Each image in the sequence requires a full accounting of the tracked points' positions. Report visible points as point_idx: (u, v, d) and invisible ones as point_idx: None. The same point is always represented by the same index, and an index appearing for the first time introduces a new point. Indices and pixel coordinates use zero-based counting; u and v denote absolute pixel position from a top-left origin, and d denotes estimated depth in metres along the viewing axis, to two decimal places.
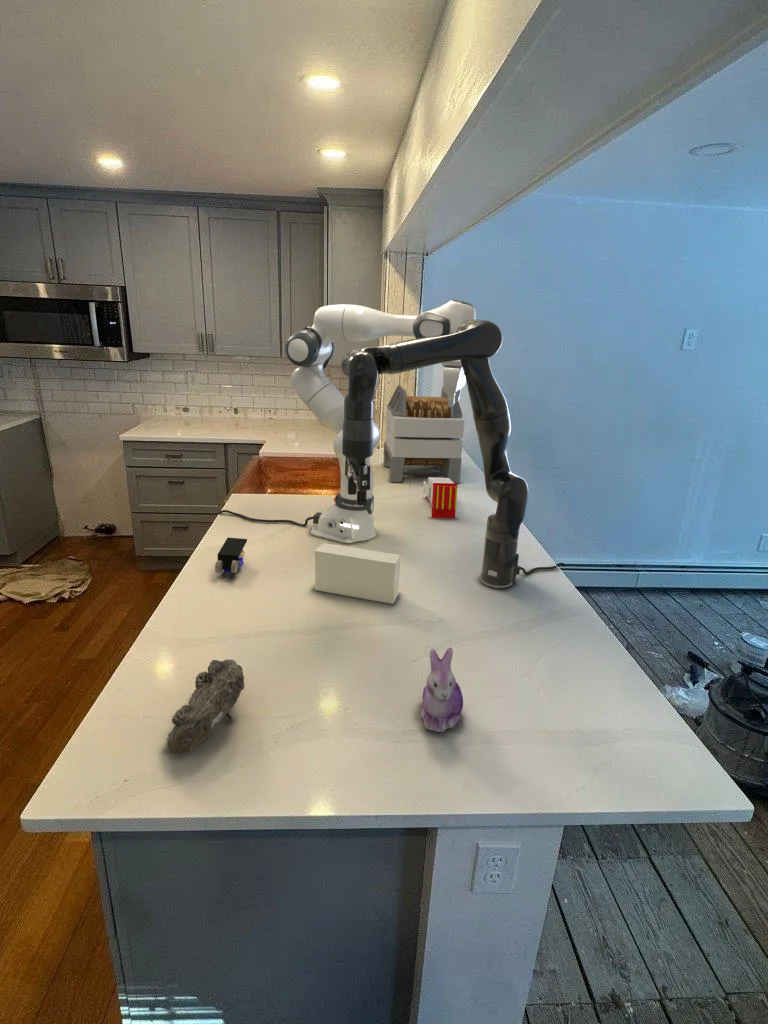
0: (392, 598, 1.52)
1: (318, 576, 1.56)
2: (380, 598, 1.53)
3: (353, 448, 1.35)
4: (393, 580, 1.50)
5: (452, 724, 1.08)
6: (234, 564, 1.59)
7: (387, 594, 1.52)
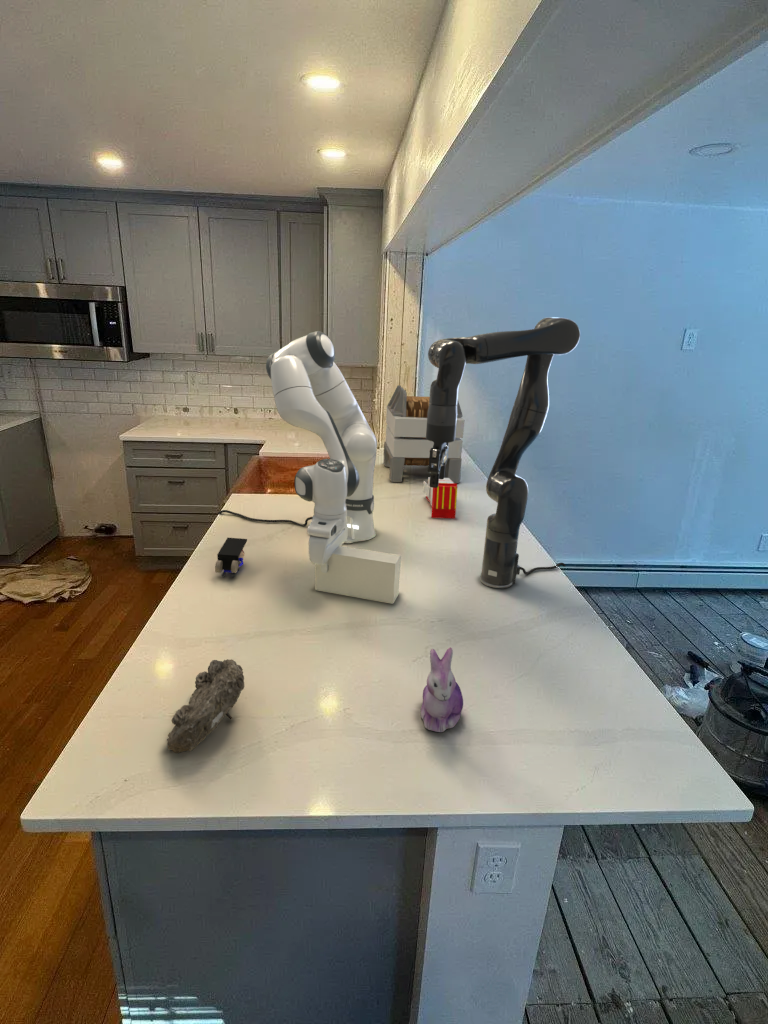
0: (392, 598, 1.52)
1: (318, 576, 1.56)
2: (380, 598, 1.53)
3: (430, 431, 1.42)
4: (393, 580, 1.50)
5: (452, 724, 1.08)
6: (234, 564, 1.59)
7: (388, 594, 1.52)
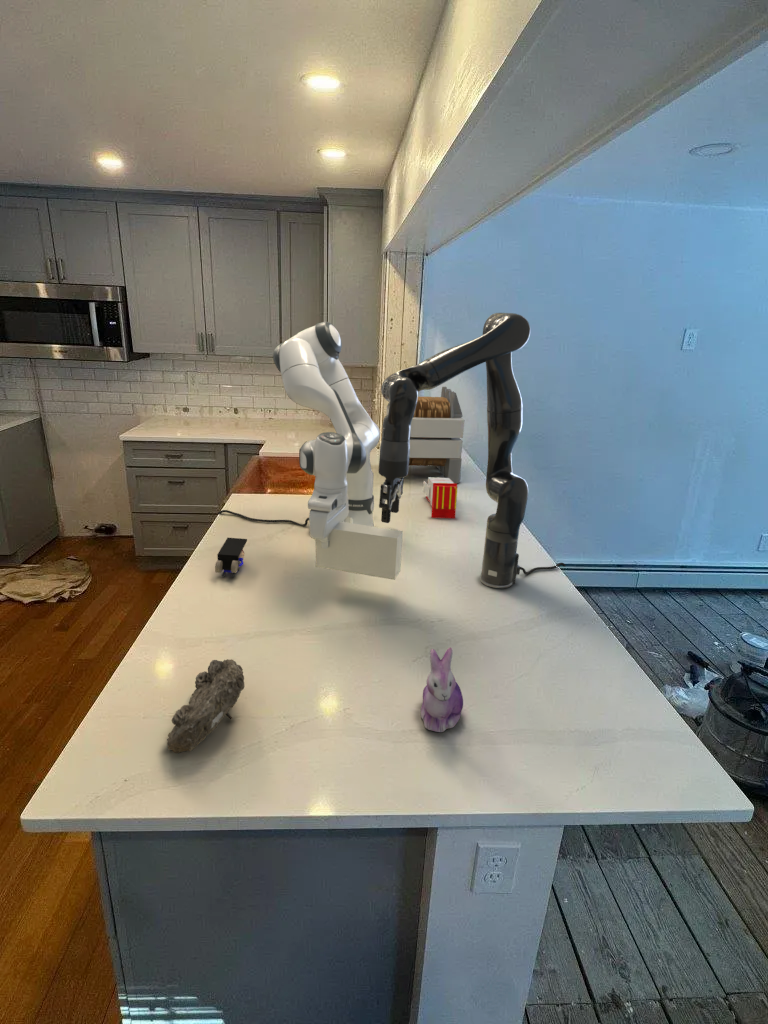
0: (394, 574, 1.50)
1: (319, 552, 1.54)
2: (382, 574, 1.51)
3: (382, 467, 1.41)
4: (395, 555, 1.48)
5: (452, 724, 1.08)
6: (234, 564, 1.59)
7: (389, 570, 1.50)
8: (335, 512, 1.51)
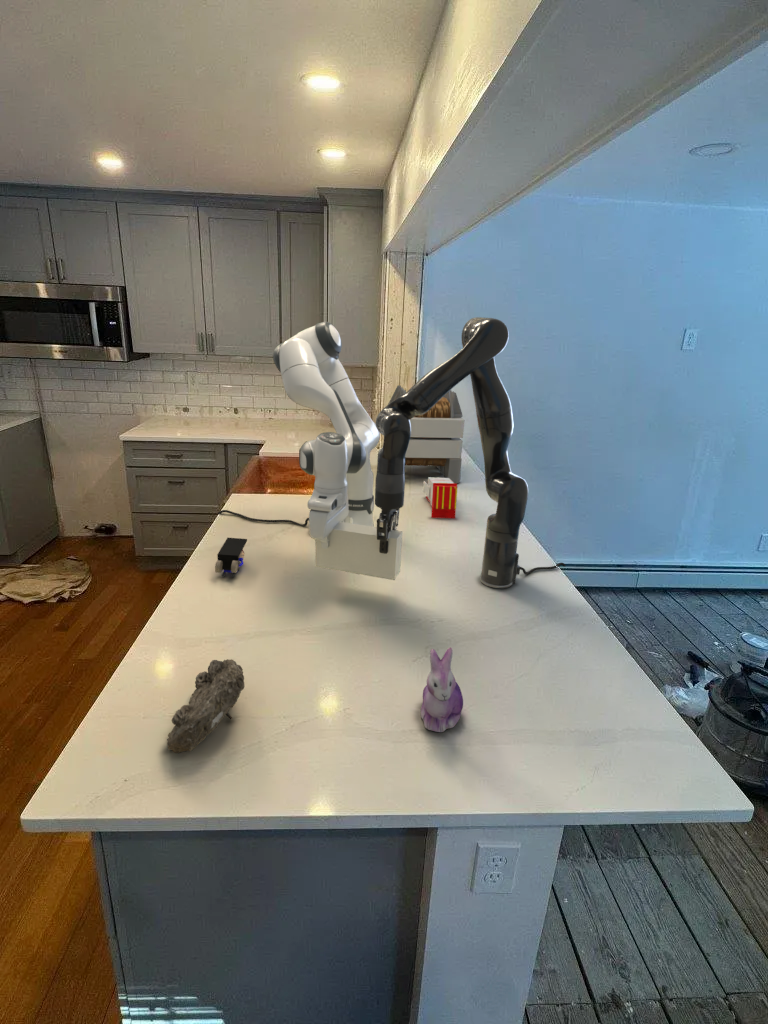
0: (394, 574, 1.50)
1: (319, 552, 1.54)
2: (381, 574, 1.51)
3: (378, 498, 1.44)
4: (395, 556, 1.48)
5: (452, 724, 1.08)
6: (234, 564, 1.59)
7: (389, 570, 1.50)
8: (335, 512, 1.51)
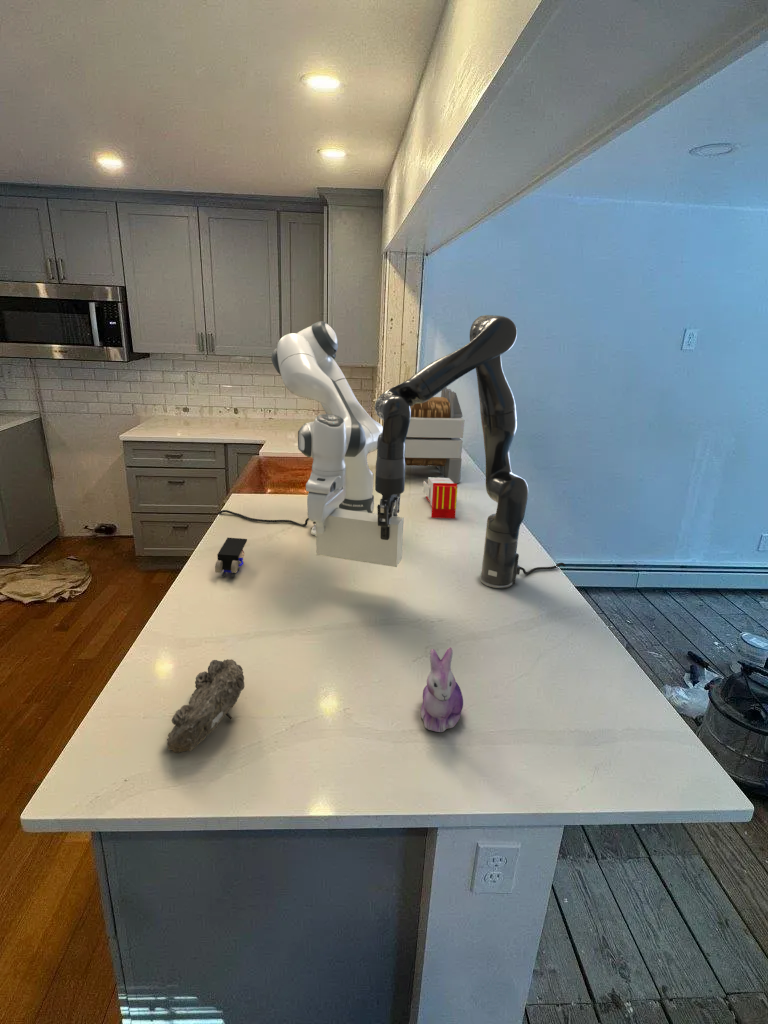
0: (395, 561, 1.48)
1: (320, 540, 1.52)
2: (383, 561, 1.49)
3: (379, 484, 1.42)
4: (396, 542, 1.46)
5: (452, 724, 1.08)
6: (234, 564, 1.59)
7: (390, 557, 1.48)
8: (333, 495, 1.50)
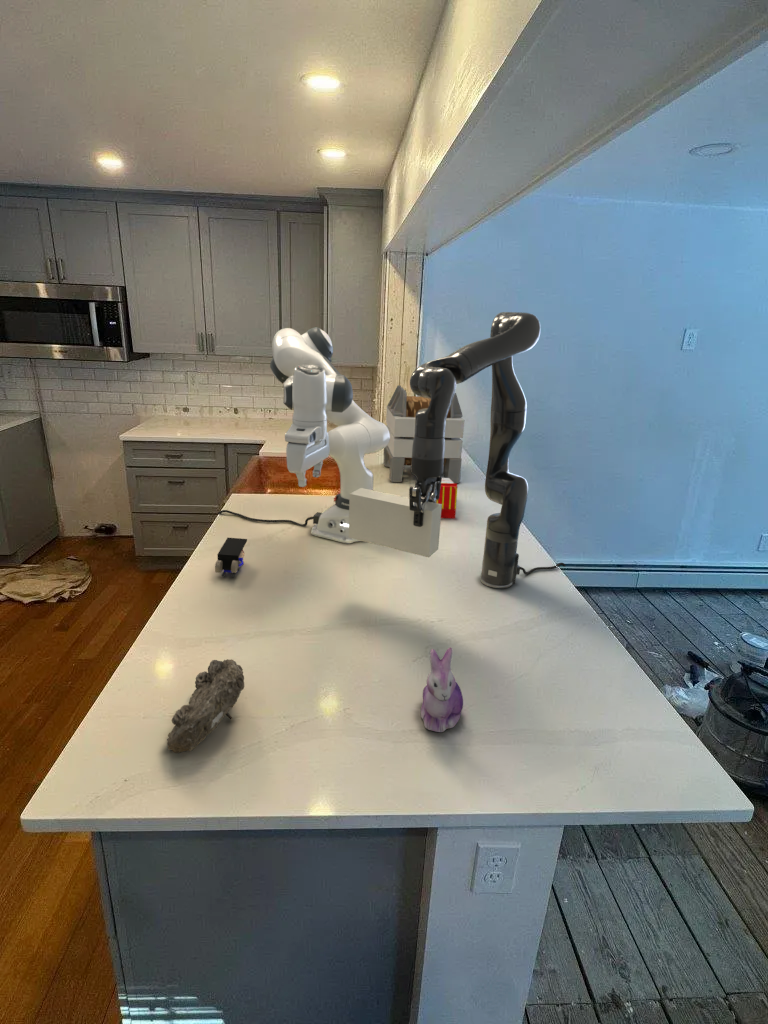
0: (428, 551, 1.36)
1: (352, 522, 1.44)
2: (415, 550, 1.38)
3: (414, 465, 1.31)
4: (430, 530, 1.34)
5: (452, 724, 1.08)
6: (234, 564, 1.59)
7: (423, 546, 1.36)
8: (314, 448, 1.47)
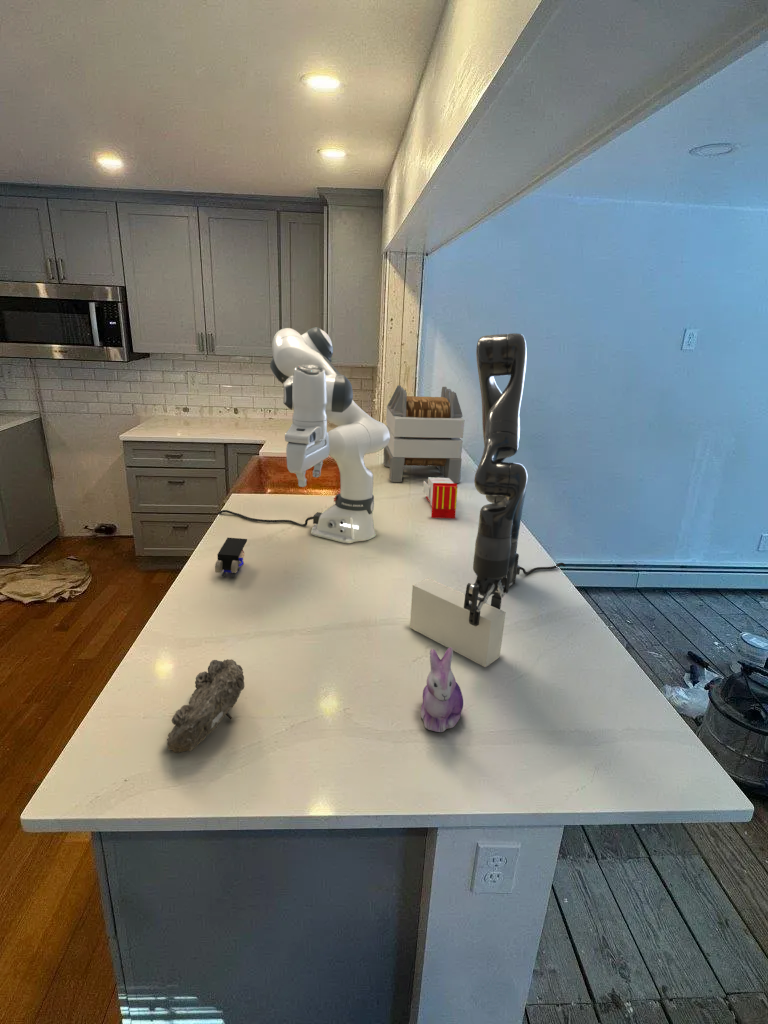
0: (485, 661, 1.27)
1: (414, 613, 1.39)
2: (472, 656, 1.29)
3: (475, 562, 1.22)
4: (487, 640, 1.25)
5: (452, 724, 1.08)
6: (234, 564, 1.59)
7: (480, 655, 1.27)
8: (314, 448, 1.47)
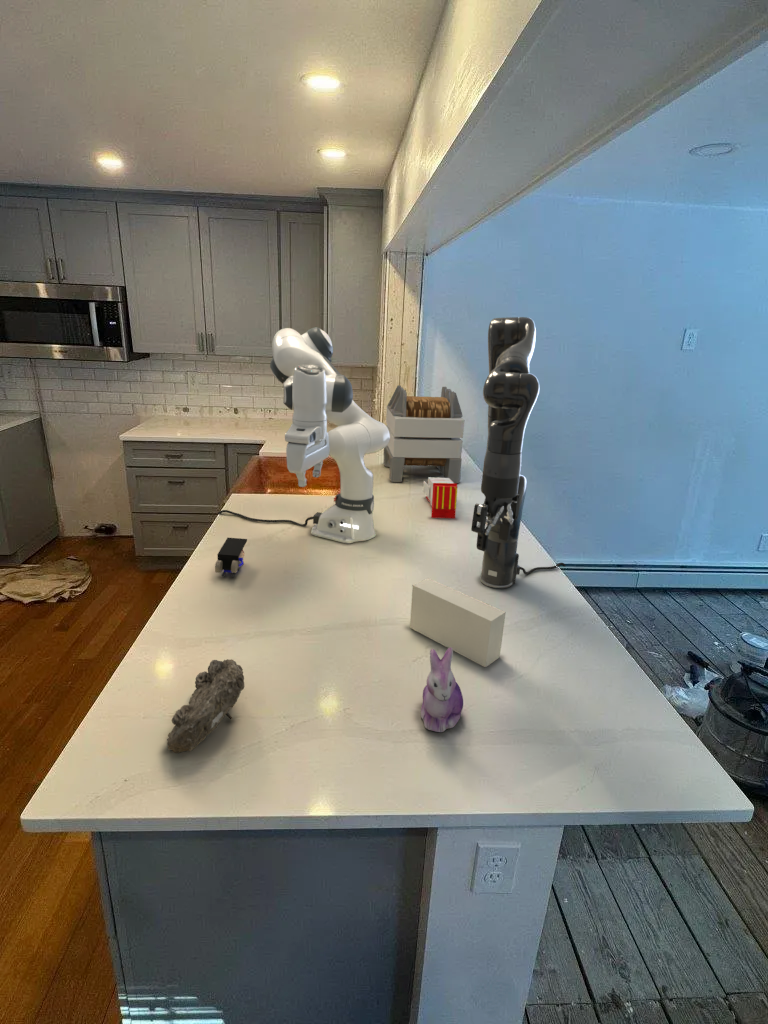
0: (485, 661, 1.27)
1: (414, 613, 1.39)
2: (472, 656, 1.29)
3: (483, 482, 1.16)
4: (487, 640, 1.25)
5: (452, 724, 1.08)
6: (234, 564, 1.59)
7: (480, 655, 1.27)
8: (314, 448, 1.47)
